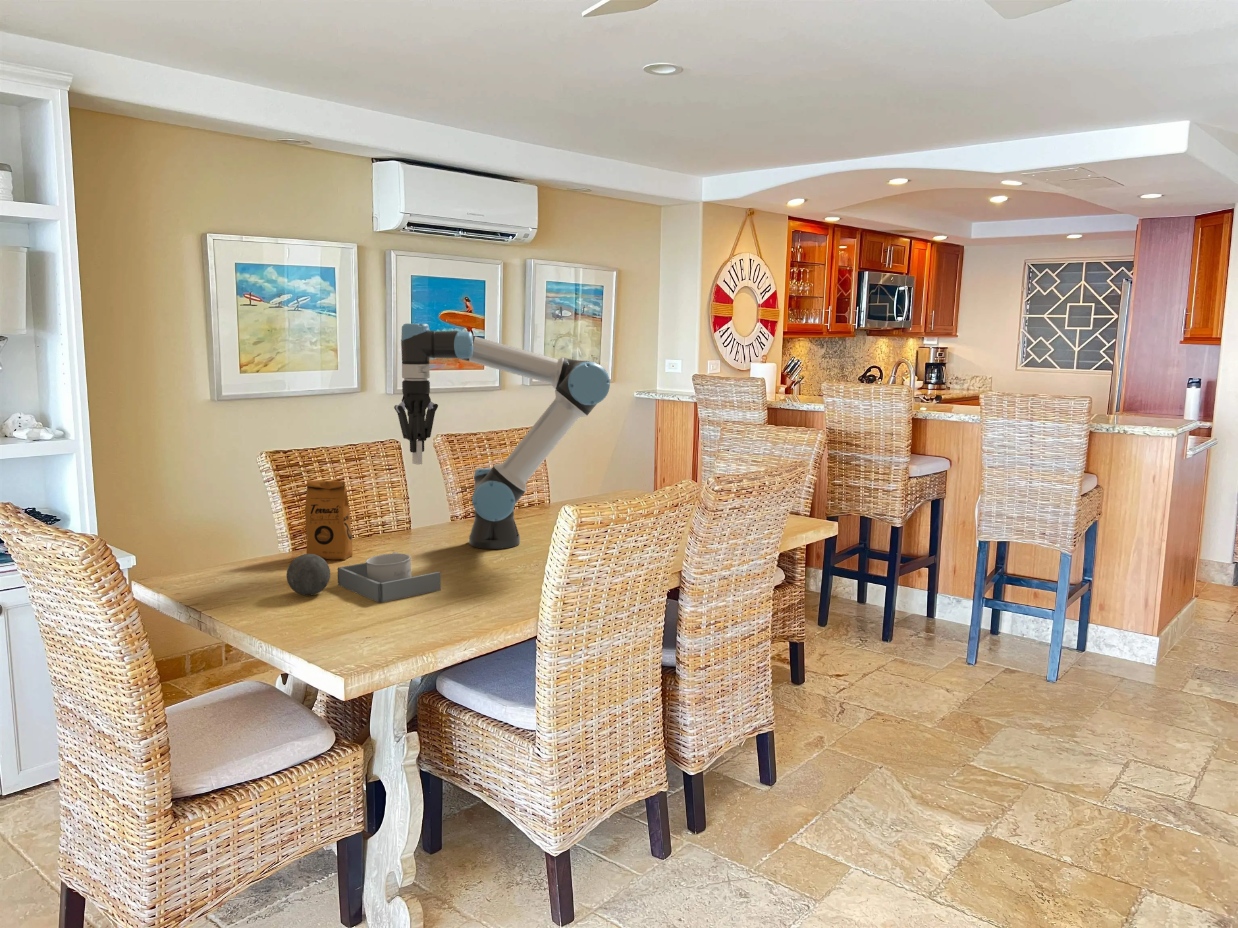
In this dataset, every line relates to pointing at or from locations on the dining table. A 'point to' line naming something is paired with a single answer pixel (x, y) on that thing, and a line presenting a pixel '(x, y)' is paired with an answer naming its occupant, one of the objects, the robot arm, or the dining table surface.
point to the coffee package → (328, 520)
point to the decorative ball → (308, 574)
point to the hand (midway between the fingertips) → (417, 463)
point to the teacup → (389, 567)
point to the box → (386, 584)
